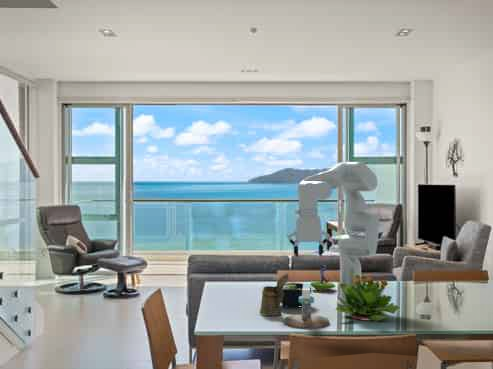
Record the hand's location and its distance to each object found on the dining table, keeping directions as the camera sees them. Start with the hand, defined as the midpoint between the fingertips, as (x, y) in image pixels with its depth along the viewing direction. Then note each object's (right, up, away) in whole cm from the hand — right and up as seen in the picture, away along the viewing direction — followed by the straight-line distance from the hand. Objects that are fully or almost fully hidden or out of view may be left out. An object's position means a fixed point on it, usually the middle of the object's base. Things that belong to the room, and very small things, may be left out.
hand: (308, 255), depth 242 cm
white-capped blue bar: (-1, -18, -3) cm, 18 cm away
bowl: (-4, -26, +28) cm, 39 cm away
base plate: (-1, -26, -3) cm, 27 cm away
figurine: (+14, -26, +66) cm, 72 cm away
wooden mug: (-13, -26, +11) cm, 32 cm away
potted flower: (+22, -27, +6) cm, 35 cm away
